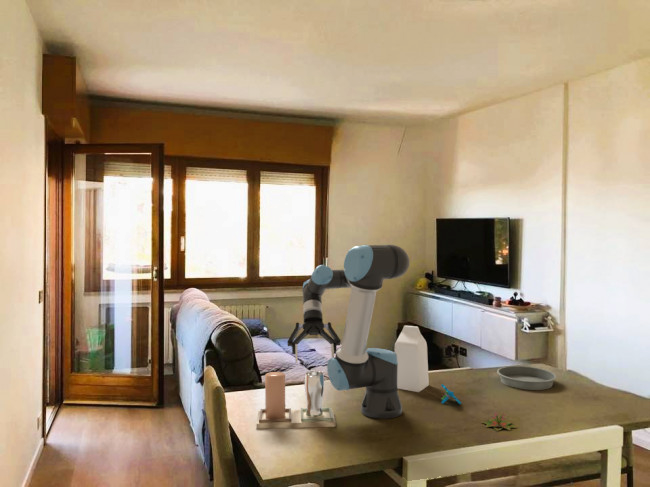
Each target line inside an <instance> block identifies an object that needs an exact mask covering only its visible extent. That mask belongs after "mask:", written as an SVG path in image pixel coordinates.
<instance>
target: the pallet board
mask: <svg viewBox="0 0 650 487" xmlns="http://www.w3.org/2000/svg"><path fill="white" fill-rule="evenodd" d="M333 410H334V409H333V408H331V407H322V411H323V416H322V417H319V418H309V417H307V416H306V411H307V407H301V408H300V409H292V407H291V408H288V407H287V408H286V407H285V418H284V419H266V417H265V408H261V409H260V410H259V411H258V413H257V420H256V429H283V428H284V429H287V428H289V429H291V428H292V429H295V428H326V427H327V428H330V427H332V428H333V427H336V418H335V414H334V411H333Z"/></svg>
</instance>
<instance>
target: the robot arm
mask: <svg viewBox="0 0 650 487" xmlns="http://www.w3.org/2000/svg"><path fill="white" fill-rule="evenodd" d="M343 261H344V262H343V269H332V268H331V267H330V266H328V265H327V266H326V265H325V264H319V265H317V266H316V268H315V269H314V270H313V271H312V273H311V276H310V278H309V279H307V280H306V281H304V282H303V285H302V304H303V305H302V310H303V312H302V313H303V323H301V324H300V323H299V322H296V323H295V328H294V329H293V331H292V333H291V335H290V336H289V338H288V339H287V347H291V349H292V350H291V351H292V354H291V355H294V357H295V359H294V360H295V364H299V363H298V358H299V357H298V355H299V354H298V344H300V343H301V342H302V340H304V339H305V337H307V336H308V335H309V336H318V335H319V336H320V337H322V338H323V339H324V340H325V341H327V343H328V344H330V353H331V358H329V359H328V361H327V364H326V365H327V366H326V371H327V376H328V378H329V381H330V383H331V385H332V386H333V388H334V389H335V390H337V391H349V390H355V389H360V388H362V389H363V388H365V393H364V396H363V399H362V402H361V406H360V412H361V414H362V415H364V416H366V417H369V418H371V419H394V418H397V417H400V416H401V415H402V414H403V405H402V402H401V400H400V396H399V392H398V388H397V365H398V361H397V355H396V353H394V351H392V350H388V349H383V348H376V347H368V348H367V344H368V339H369V333H370V328H371V323H372V317H373V312H374V307H375V303H376V296H377V292H378V291H379V290H381V289H382V288H383V284H384V280H392V279H393V280H394V279H398V278H401V277H402V276H404V275H405V274H406V273H407V272H408V270H409V268H410V257H409V254H408V253H407V252H406V250H405V249H403V248H402V247H400V246H399V245H394V244H378V245H377V244H375V245H374V244H373V245H372V244H371V245H370V244H369V245H368V244H362V245H356V246H353V247H352V248H350V249H349V250H348V251H347V253H346V255H345V258H344V260H343ZM349 288H351V290H350V295H349V300H348V306H347V307H348V308H347V312H346V318H345V323H344V324H345V325H344V328H343V334H342V335H343V336H342V339H341V338H340V337H339V335H338V334H337V333H336V331H335V330H334V328H333V327H332V322H330V321H329V322H327V323H324V322H323V304H322V296H323V294H324V293H325V291H326V290H329V289H330V290H332V289H349ZM301 329H302V332H301V333H300V334H299V335H298V333H299V331H300V330H301ZM325 329H326V330H327V331H328V332H326V331H325ZM329 334H330V335H329ZM297 335H298V336H297ZM337 346H339V347H338V348H337Z"/></svg>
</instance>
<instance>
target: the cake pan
mask: <svg viewBox="0 0 650 487" xmlns="http://www.w3.org/2000/svg"><path fill="white" fill-rule="evenodd" d="M496 373H497V374H498V375H499V377H500V382H501V383H502V384H504V385H506V386H508V387H512V388H515V389H520V390H531V391H540V390H548V389H550V388H552V387H553V384H554V381H555V380H556V379H557V377H558V376H557V375H556V374H555V373H554V372H552V371H550V370H547V369H543V368H539V367H536V366H535V367H534V366H533V367H532V366H525V365H524V366H523V365H510V366H502V367H500V368H497V371H496Z"/></svg>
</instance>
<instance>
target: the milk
mask: <svg viewBox="0 0 650 487" xmlns="http://www.w3.org/2000/svg"><path fill="white" fill-rule="evenodd" d="M393 350H394V351H393V352H394V353H396V355H397V361H398V365H397V390H404V391H411V392H416V393H420V392H422V391H423V390H424V389H425V388H427V387H428V386H429V385H430V384H429V383H430V381H429V363H428V360H429V359H428V344H427V341H426V339H425V338H424V336H423V335H422V333H421V331H420V328H419V326H414V325H403V328H402V330H401V332H400V333H399V335H398V338H397V339H396V341H395V343H394V349H393Z"/></svg>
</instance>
